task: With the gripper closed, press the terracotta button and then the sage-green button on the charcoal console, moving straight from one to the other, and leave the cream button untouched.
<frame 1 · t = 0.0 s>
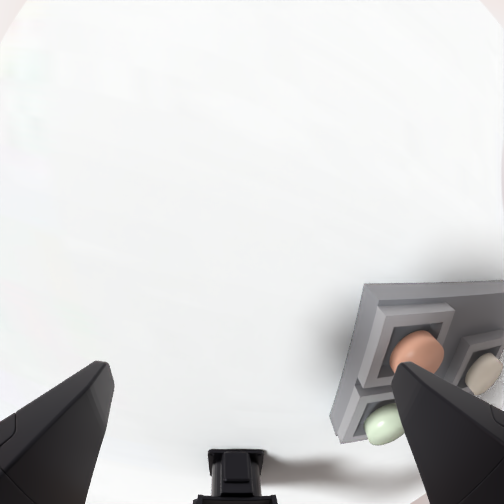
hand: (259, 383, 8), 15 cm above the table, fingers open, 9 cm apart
sage button: (387, 424, 23), point 6 cm above the table, slide at 0.0 cm
cream button: (484, 374, 22), point 6 cm above the table, slide at 0.0 cm
terracotta button: (417, 358, 20), point 6 cm above the table, slide at 0.0 cm
console: (425, 351, 27), on the table
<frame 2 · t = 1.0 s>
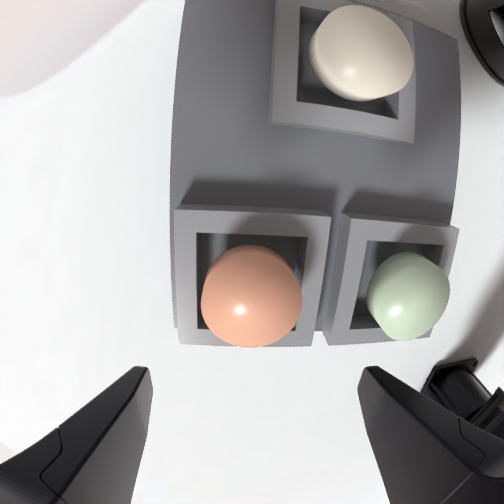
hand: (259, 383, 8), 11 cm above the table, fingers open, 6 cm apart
sage button: (408, 296, 14), point 6 cm above the table, slide at 0.0 cm
cream button: (361, 53, 10), point 6 cm above the table, slide at 0.0 cm
terracotta button: (250, 296, 13), point 6 cm above the table, slide at 0.0 cm
french press: (495, 44, 14), on the table
console: (320, 159, 17), on the table
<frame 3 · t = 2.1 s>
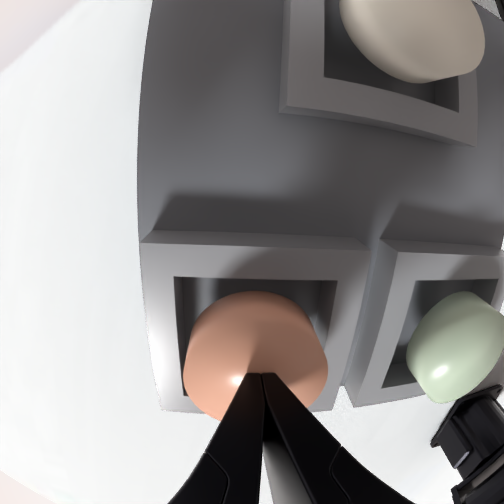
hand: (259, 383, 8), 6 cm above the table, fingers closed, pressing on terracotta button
sage button: (459, 349, 9), point 6 cm above the table, slide at 0.0 cm
cream button: (415, 15, 6), point 6 cm above the table, slide at 0.0 cm
terracotta button: (254, 363, 9), point 5 cm above the table, slide at 0.3 cm, touching gripper
console: (346, 164, 13), on the table
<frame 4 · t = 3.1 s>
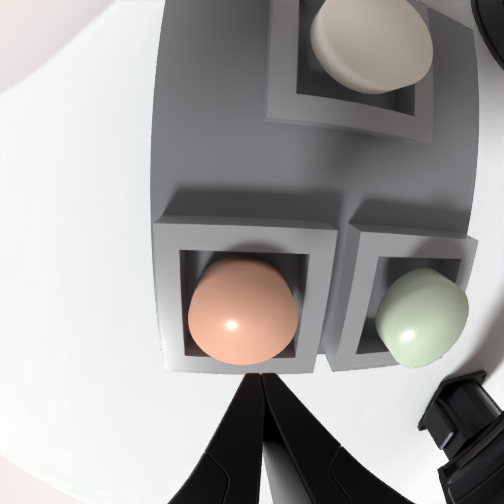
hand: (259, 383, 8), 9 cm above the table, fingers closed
sage button: (423, 318, 12), point 6 cm above the table, slide at 0.0 cm
cream button: (372, 37, 8), point 6 cm above the table, slide at 0.0 cm
terracotta button: (242, 311, 12), point 5 cm above the table, slide at 1.0 cm
console: (323, 162, 15), on the table
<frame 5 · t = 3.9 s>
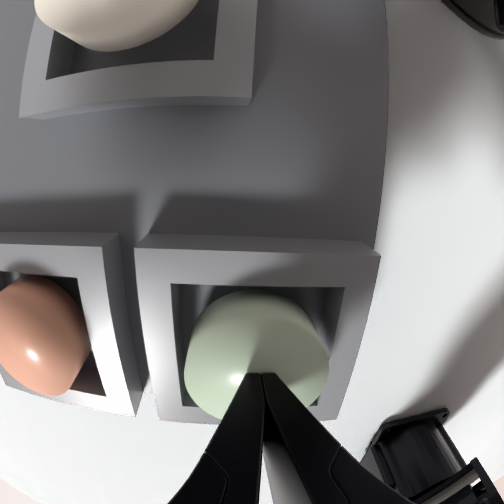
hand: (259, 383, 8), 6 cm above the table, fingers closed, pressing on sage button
sage button: (255, 362, 9), point 5 cm above the table, slide at 0.9 cm, touching gripper
terracotta button: (35, 337, 9), point 5 cm above the table, slide at 1.0 cm
console: (155, 153, 11), on the table
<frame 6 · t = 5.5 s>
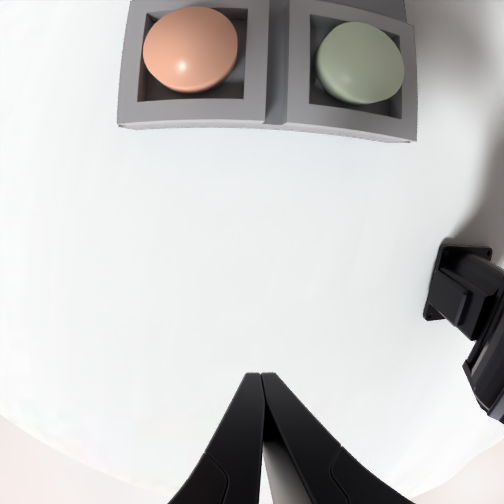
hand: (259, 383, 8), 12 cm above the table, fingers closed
sage button: (359, 64, 12), point 5 cm above the table, slide at 1.0 cm
terracotta button: (191, 50, 12), point 5 cm above the table, slide at 1.0 cm
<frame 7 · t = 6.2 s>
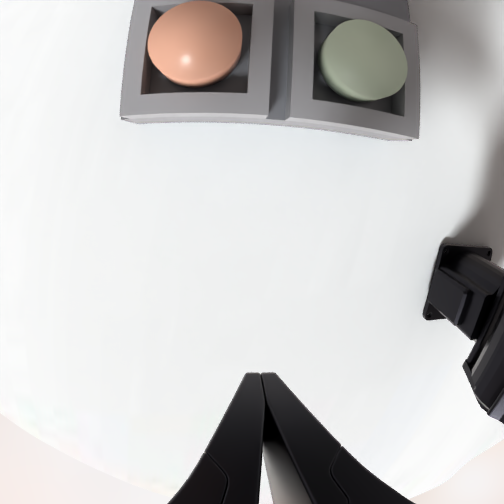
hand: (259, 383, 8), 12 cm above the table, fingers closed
sage button: (362, 61, 12), point 5 cm above the table, slide at 1.0 cm
terracotta button: (196, 43, 11), point 5 cm above the table, slide at 1.0 cm
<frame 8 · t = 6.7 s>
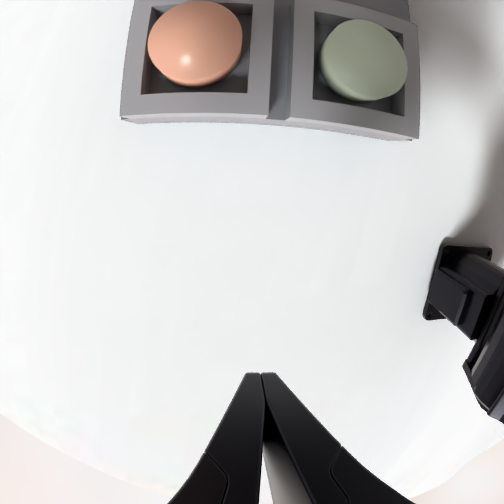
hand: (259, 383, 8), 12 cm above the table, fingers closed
sage button: (362, 61, 12), point 5 cm above the table, slide at 1.0 cm
terracotta button: (196, 43, 11), point 5 cm above the table, slide at 1.0 cm
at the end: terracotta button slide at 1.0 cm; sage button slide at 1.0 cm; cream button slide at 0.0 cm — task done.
